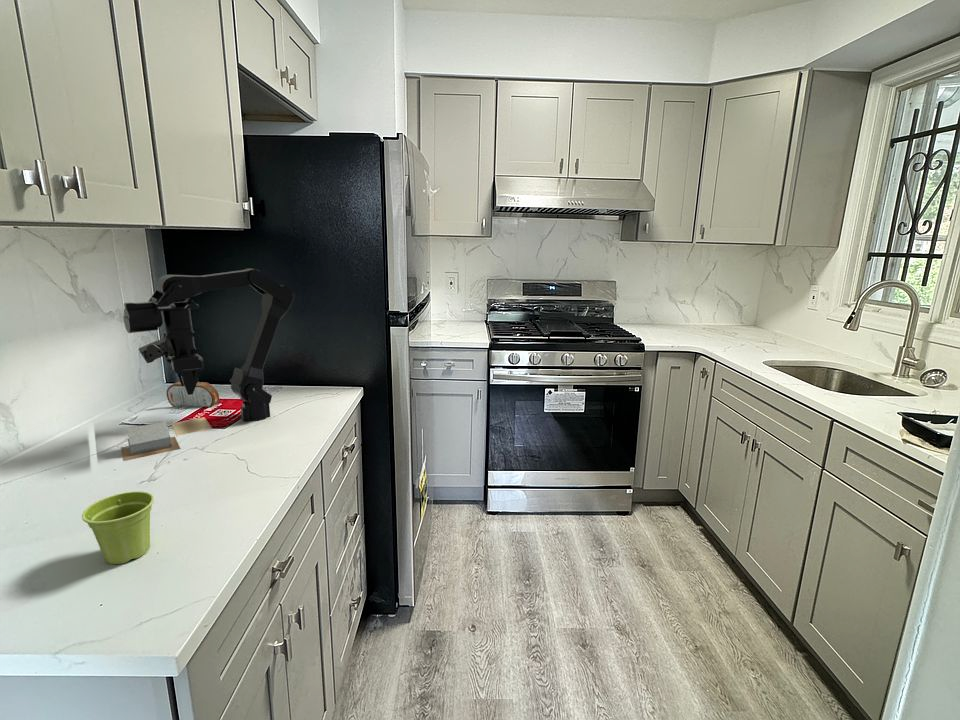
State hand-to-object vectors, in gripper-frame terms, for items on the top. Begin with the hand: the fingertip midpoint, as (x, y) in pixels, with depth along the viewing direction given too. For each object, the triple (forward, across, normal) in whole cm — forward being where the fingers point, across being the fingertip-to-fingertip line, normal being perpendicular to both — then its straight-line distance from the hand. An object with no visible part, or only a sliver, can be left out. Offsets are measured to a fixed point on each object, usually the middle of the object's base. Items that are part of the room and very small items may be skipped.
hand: (187, 389), depth 123 cm
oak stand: (+13, -6, 0) cm, 14 cm away
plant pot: (+13, +46, -17) cm, 51 cm away
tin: (+13, -24, +4) cm, 28 cm away
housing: (+12, +4, -10) cm, 16 cm away
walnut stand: (+13, +4, -10) cm, 17 cm away
